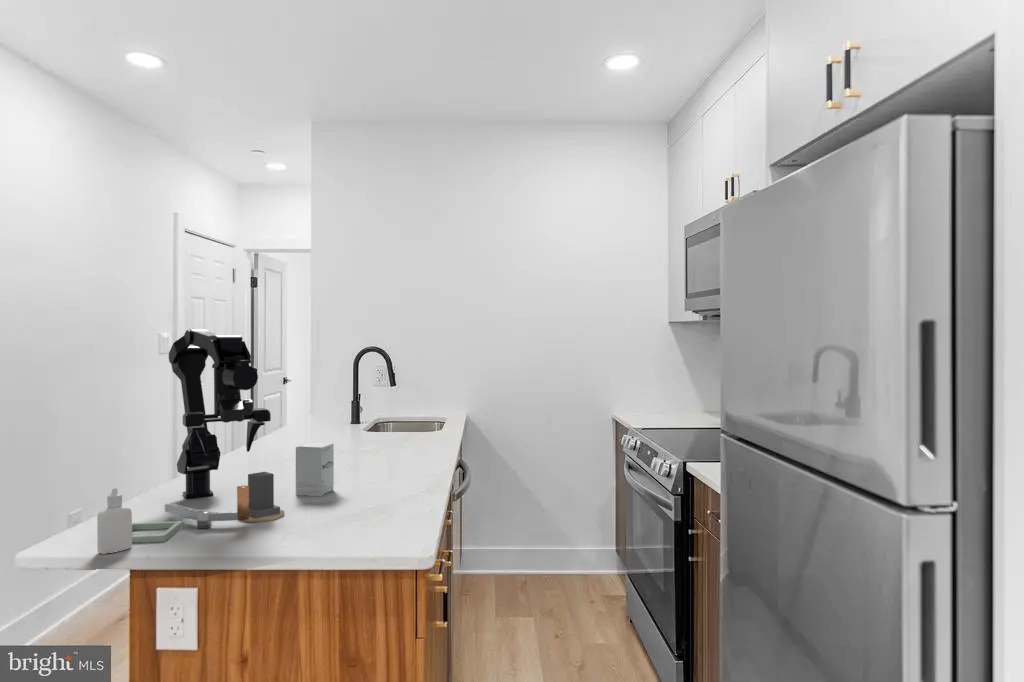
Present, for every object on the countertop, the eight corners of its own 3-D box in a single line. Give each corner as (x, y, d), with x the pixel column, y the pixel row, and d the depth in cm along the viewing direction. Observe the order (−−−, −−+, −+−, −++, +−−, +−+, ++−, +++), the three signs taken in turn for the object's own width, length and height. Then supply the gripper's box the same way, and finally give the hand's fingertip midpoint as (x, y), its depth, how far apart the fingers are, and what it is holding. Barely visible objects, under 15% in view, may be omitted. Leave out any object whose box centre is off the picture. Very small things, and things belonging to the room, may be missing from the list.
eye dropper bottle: (100, 549, 130) (99, 486, 129) (133, 545, 132) (132, 484, 132) (95, 555, 126) (95, 491, 125) (130, 552, 128) (129, 489, 128)
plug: (241, 514, 152) (241, 474, 152) (266, 508, 157) (266, 470, 157) (255, 518, 149) (255, 478, 148) (280, 513, 153) (279, 473, 153)
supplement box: (321, 496, 171) (321, 447, 171) (294, 495, 173) (294, 446, 172) (334, 490, 178) (334, 442, 178) (309, 489, 180) (308, 441, 180)
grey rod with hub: (251, 524, 145) (251, 486, 145) (218, 533, 139) (218, 493, 139) (194, 510, 157) (194, 475, 157) (162, 518, 151) (162, 481, 151)
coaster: (233, 514, 154) (233, 511, 154) (278, 508, 160) (278, 505, 160) (242, 524, 146) (242, 522, 146) (289, 518, 151) (289, 515, 151)
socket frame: (130, 528, 143) (130, 523, 143) (182, 526, 145) (182, 521, 145) (108, 543, 133) (108, 537, 133) (164, 541, 134) (164, 535, 134)
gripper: (188, 392, 148) (189, 463, 148) (276, 388, 158) (276, 454, 158) (182, 388, 157) (182, 455, 158) (264, 385, 168) (265, 447, 168)
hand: (227, 453), depth 160 cm, fingers open, 9 cm apart
